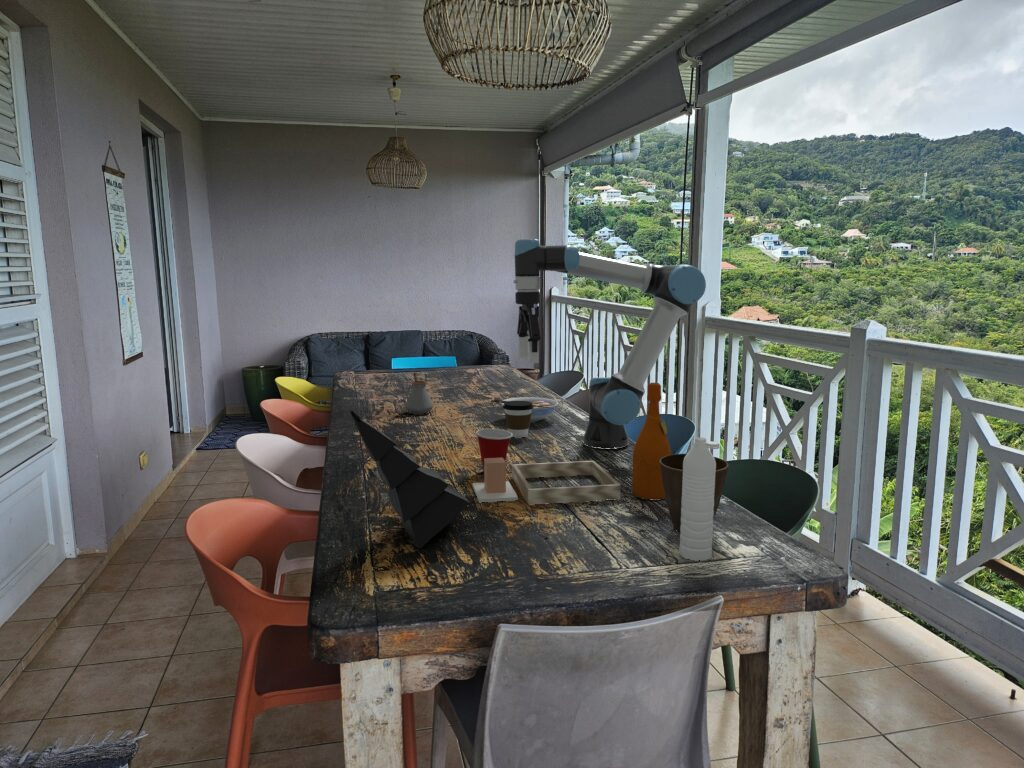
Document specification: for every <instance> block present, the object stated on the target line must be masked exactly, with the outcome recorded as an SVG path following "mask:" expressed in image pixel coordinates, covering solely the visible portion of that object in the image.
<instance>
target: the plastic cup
mask: <svg viewBox="0 0 1024 768" xmlns="http://www.w3.org/2000/svg"><path fill="white" fill-rule="evenodd" d="M475 435H476V437H477V441H478V446H479V453H480V460H481V462H482V463H481V464H482V470H483V471H484V458H503V459H504V460H505V462H507V461H506V460H507V454H508V450H509V449H508V448H509V444H510V442H511V438H512V436H513V434H512V433H511V432H508V430H503V429H499V428H481V429H478V430H476V431H475Z"/></svg>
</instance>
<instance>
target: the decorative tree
mask: <svg viewBox="0 0 1024 768" xmlns="http://www.w3.org/2000/svg"><path fill="white" fill-rule="evenodd" d="M349 412H350V415H351V417H352V419H353V420H354V424H355V426H356V429H357V431H358V433H359V435H360V437H361V440H362V442H363V444H364V447H365V449H366V450H367V452H368V453H369V456H370V458H371V459H372V460H373V461H374V462H376V463H375V464H376V466H377V469H378V472H379V474H380V475H381V477H382V479H383V480H384V482H385V483H386V485H387V487H388V491H389V498H390V505H391V507H392V509H393V511H394V512H395V513H396V514H397V515H398V516H399V517H400V519H401V521H402V528H403V529H404V531H406V532H407V535H408V536H409V539H410V540H411V539H412V540H413V541H414V542H415V543H414V542H413V541H412V540H411V541H412V542H413V543H414V544H415V546H416V545H417V546H418V547H417V546H416V547H417V548H418V549H419V548H420V549H421V548H422V547H424V546H425V544H427V543H428V542H429V541H430V540H431V539H432V538H433V537H435V536H436V535H437V534H440V535H446V534H447V533H449V532H450V531H451V529H453V526H454V523H453V522H452V521H453V520H454V519H455V518H456V517H457V516H458V515H459V514H460V513H462V511H464V510H465V509H466V508H467V507H468V506H469V505H470V504H471V502H470V501H469V500H468V499H467V498H466V497H465V496H464V495H463V494H462V493H461V492H459V491H458V490H456V488H454V487H453V485H452V484H450V483H448V482H447V481H446V480H445V479H444V478H443V476H442V475H440V473H439V472H437V471H436V470H434V469H432V468H428V467H426V466H421V465H420V464H418V462H417V461H416V459H415V457H414V456H413V455H411V454H409V453H408V452H406V451H404V450H402V449H400V448H399V447H396V446H397V443H396V442H395V441H394V440H392V439H391V438H390V437H389V436H388V435H386V434H385V433H384V432H383V431H381V430H379V429H377V428H376V427H375V426H374V425H372V424H371V423H369V422H366V421H365V420H363V419H362V418H361V417H360V416H359V415H358V414H357V413H355V412H354V411H353V410H349Z"/></svg>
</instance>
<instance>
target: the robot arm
mask: <svg viewBox="0 0 1024 768" xmlns="http://www.w3.org/2000/svg"><path fill="white" fill-rule="evenodd" d="M541 271H542V272H545V271H547V272H549V271H550V272H556V273H561V274H568V275H573V276H577V277H582V278H588V279H592V280H596V281H600V282H601V281H602V282H606V283H610V284H615V285H620V286H624V287H625V286H626V287H629V288H635V289H638V290H639V291H640V293H643V294H647V295H649V296H650V295H651V296H653V301H654V306H653V308H652V310H651V312H650V314H649V316H648V317H647V319H646V321H645V323H644V325H643V327H642V328H641V330H640V332H639V334H638V336H637V338H636V339H635V341H634V344H633V346H632V347H631V349H630V351H629V353H628V355H627V357H626V359H625V360H624V362H623V363H622V366H621V368H620V370H619V371H618V372H617V373H613V374H612V375H611V376H610V377H609V376H608V377H607V376H606V377H592V378H590V380H589V385H588V389H589V396H588V400H589V401H588V403H589V404H588V424H587V426H586V429H585V432H584V435H583V441H582V442H583V443H584V444H586V445H588V446H593V447H601V448H614V447H622V446H625V445H627V444H628V445H629V437H628V436H629V435H628V433H627V429H626V425H628V424H630V423H632V422H633V421H635V420H636V419H637V418H638V416H639V414H640V412H641V400H642V399H643V397H644V395H645V393H646V389H645V385H644V384H645V383H646V380H647V379H648V377H649V375H650V374H651V372H652V370H653V368H654V366H655V364H656V362H657V361H658V358H659V357H660V355H661V353H662V352H663V350H664V348H665V346H666V343H667V342H668V340H669V338H670V336H671V335H672V332H673V331H674V329H675V328H676V326H677V324H678V322H679V320H680V318H681V317H683V316H686V315H688V314H689V312H690V310H691V308H692V307H693V304H695V303H697V302H698V301H700V300H701V298H703V296H704V294H705V291H706V287H707V283H706V279H705V275H704V274H703V272H702V271H701V269H699V268H697V266H696V267H695V266H693V265H690V264H686V263H685V264H684V263H683V264H670V265H669V264H668V265H661V264H660V265H659V264H658V265H657V264H653V263H647V264H645V265H641V264H638V263H634V262H633V263H632V262H628V261H623V260H618V259H613V258H608V257H605V256H601V255H599V256H598V255H594V254H589V253H587V252H586V253H585V252H581V251H580V249H579V247H578V246H577V245H573V244H572V245H569V244H566V245H565V244H563V245H562V244H561V245H560V244H559V245H541V244H540V240H539V239H538V238H522V239H521V238H520V239H517V240H516V241H515V242H514V277H515V278H514V280H513V284H515V287H514V288H515V290H516V292H515V304H517V305H519V306H518V319H517V321H518V322H517V328H516V329H517V330H516V334H517V335H518V351H519V352H518V355H519V356H518V357H519V358H518V359H523V358H525V359H526V358H527V359H528V362H529V364H540V362H539V359H540V357H539V356H540V355H539V352H540V350H539V347H540V346H539V344H540V343H539V341H540V340H541V331H540V323H539V317H538V310H539V309H538V308H537V307H535V305H539V304H540V303H541V292H540V291H539V290H541V274H540V273H541ZM584 444H583V445H584Z"/></svg>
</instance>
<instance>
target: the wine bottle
mask: <svg viewBox="0 0 1024 768" xmlns="http://www.w3.org/2000/svg"><path fill="white" fill-rule="evenodd" d="M646 399H647V401H648V409H647V415H646V418H645V421H644V424H643V427H642V428H641V431H639V435H638V436H637V438H636V441H635V444H634V447H633V453H632V472H631V473H632V483H631V484H632V493H633V495H634V496H635V497H636V496H637V497H636V498H638V497H640V498H639V499H641V498H644V499H662V500H664V499H663V498H665V494H664V489H663V484H662V477H661V469H660V459H661V458H662V457H665V456H668V455H672V450H671V446H670V442H669V439H668V437H667V434H668V433H669V432H668V427H667V425H666V422H665V420H664V419H662V420H661V414H660V401H662V385H661V384H660V383H658V382H650V383H648V384H647V398H646ZM644 499H643V500H644Z"/></svg>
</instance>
